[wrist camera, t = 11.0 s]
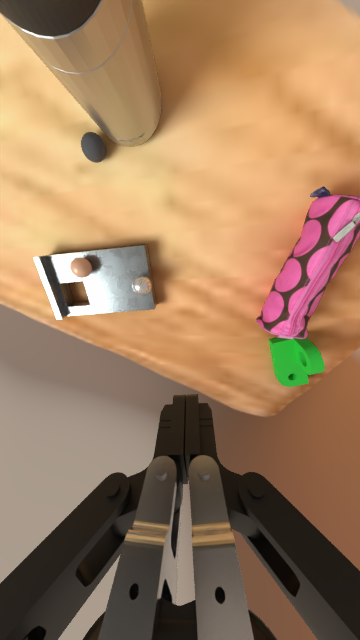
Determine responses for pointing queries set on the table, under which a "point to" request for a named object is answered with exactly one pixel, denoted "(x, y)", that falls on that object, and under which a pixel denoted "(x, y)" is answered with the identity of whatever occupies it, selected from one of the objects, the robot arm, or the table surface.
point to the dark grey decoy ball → (93, 147)
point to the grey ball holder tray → (98, 281)
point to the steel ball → (141, 285)
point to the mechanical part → (295, 360)
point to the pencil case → (311, 264)
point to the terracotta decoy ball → (81, 267)
